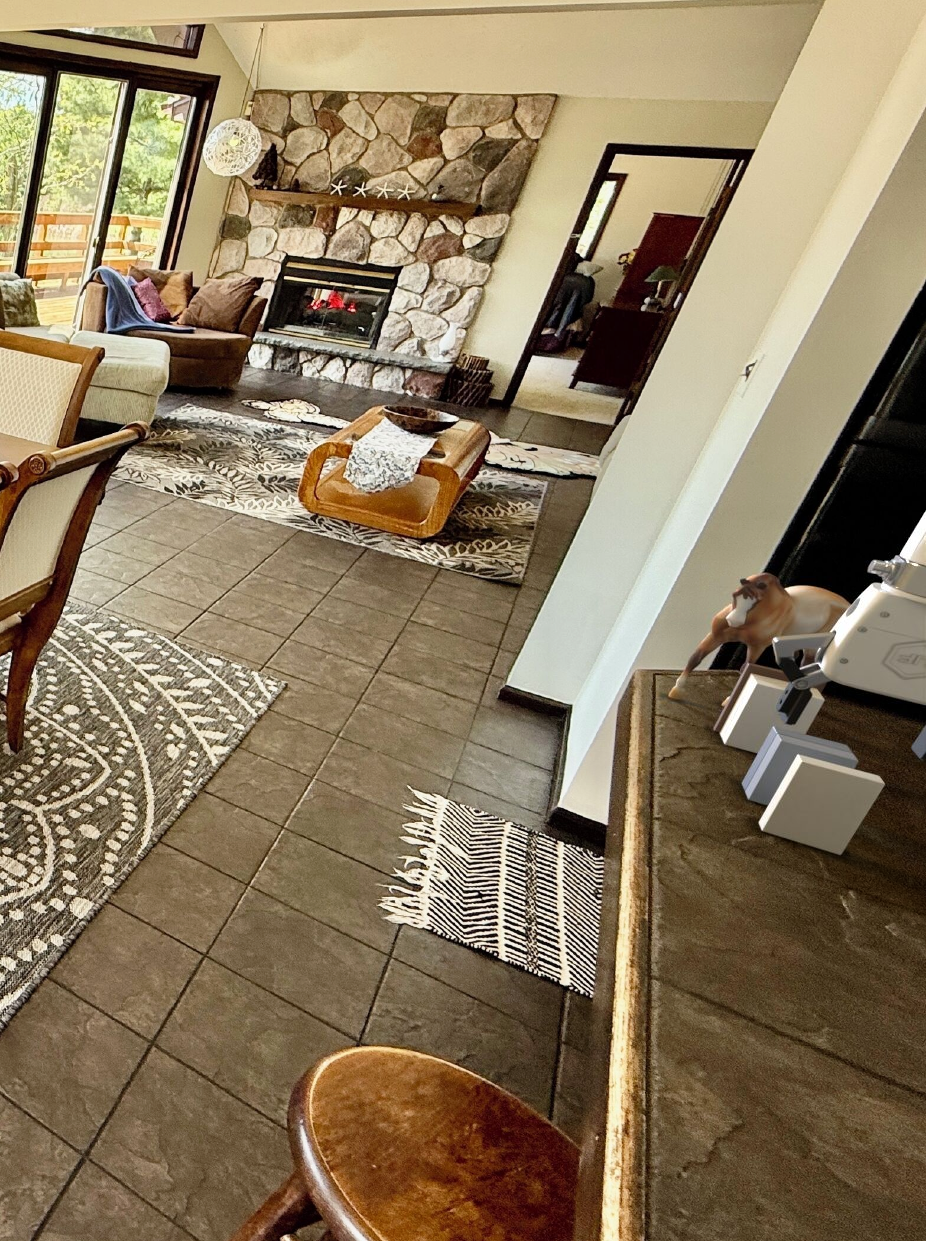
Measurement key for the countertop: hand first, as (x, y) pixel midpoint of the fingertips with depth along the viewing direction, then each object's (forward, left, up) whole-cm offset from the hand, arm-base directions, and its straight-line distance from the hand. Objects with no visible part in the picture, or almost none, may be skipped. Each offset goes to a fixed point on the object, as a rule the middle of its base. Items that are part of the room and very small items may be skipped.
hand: (851, 737), depth 91 cm
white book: (0, 0, -13) cm, 13 cm away
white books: (0, -25, -13) cm, 28 cm away
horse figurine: (-4, -42, -13) cm, 44 cm away
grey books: (0, -9, -13) cm, 15 cm away
